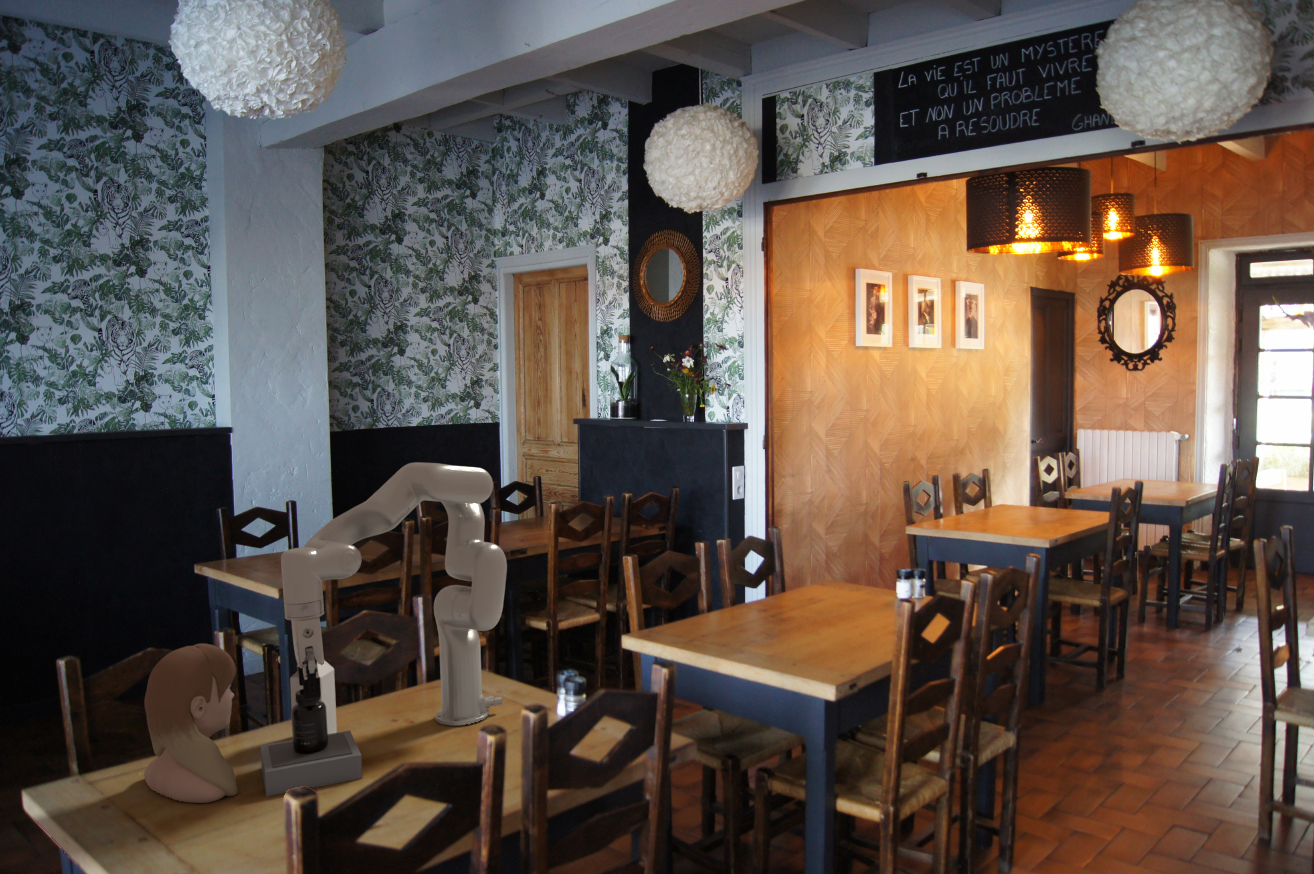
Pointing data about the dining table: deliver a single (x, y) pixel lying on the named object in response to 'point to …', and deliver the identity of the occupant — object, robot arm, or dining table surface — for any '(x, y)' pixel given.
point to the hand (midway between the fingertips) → (310, 690)
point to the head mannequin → (190, 724)
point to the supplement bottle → (309, 724)
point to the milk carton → (326, 692)
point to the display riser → (310, 764)
